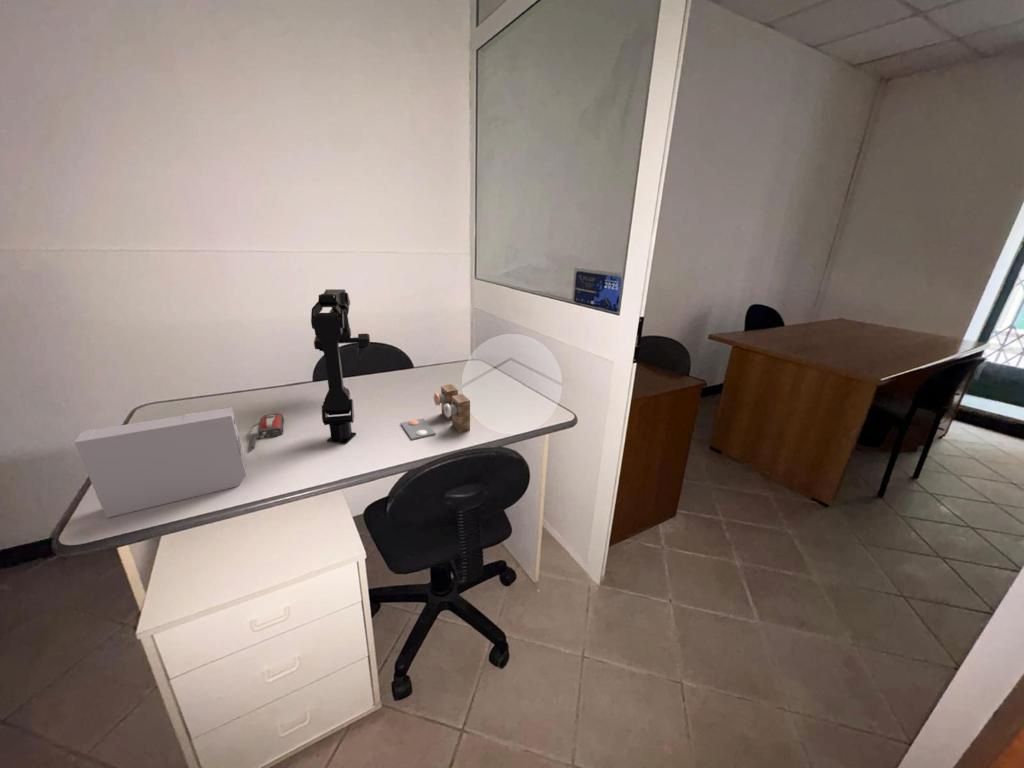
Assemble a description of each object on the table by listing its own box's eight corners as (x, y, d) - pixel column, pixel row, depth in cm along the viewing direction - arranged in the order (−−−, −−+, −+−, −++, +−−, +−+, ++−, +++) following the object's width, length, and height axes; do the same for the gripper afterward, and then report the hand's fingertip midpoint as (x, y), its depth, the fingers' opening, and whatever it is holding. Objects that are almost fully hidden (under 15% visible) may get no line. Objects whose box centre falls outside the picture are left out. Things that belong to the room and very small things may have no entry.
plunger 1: (438, 407, 138) (437, 396, 137) (433, 402, 142) (433, 391, 140) (455, 404, 142) (455, 392, 140) (451, 399, 145) (451, 388, 144)
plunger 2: (449, 419, 131) (448, 407, 129) (444, 413, 134) (443, 402, 132) (467, 415, 134) (467, 403, 132) (462, 410, 137) (462, 398, 136)
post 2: (459, 432, 133) (458, 402, 129) (452, 424, 138) (451, 396, 134) (470, 429, 135) (470, 400, 131) (462, 422, 140) (462, 394, 136)
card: (411, 440, 127) (411, 438, 127) (400, 424, 137) (400, 422, 137) (435, 434, 131) (435, 432, 131) (423, 419, 141) (423, 417, 140)
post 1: (447, 420, 141) (447, 391, 137) (441, 413, 146) (440, 385, 142) (458, 417, 143) (458, 389, 139) (451, 411, 148) (451, 384, 144)
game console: (112, 504, 94) (82, 430, 87) (248, 472, 108) (232, 406, 100) (106, 518, 90) (73, 442, 82) (248, 484, 103) (231, 415, 96)
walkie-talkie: (255, 423, 134) (249, 452, 117) (252, 411, 132) (245, 439, 116) (284, 419, 138) (282, 447, 121) (282, 407, 136) (280, 434, 120)
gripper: (367, 313, 151) (371, 349, 160) (313, 314, 145) (320, 352, 154) (367, 326, 142) (371, 363, 151) (310, 328, 137) (318, 367, 145)
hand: (345, 361), depth 150 cm, fingers open, 9 cm apart
